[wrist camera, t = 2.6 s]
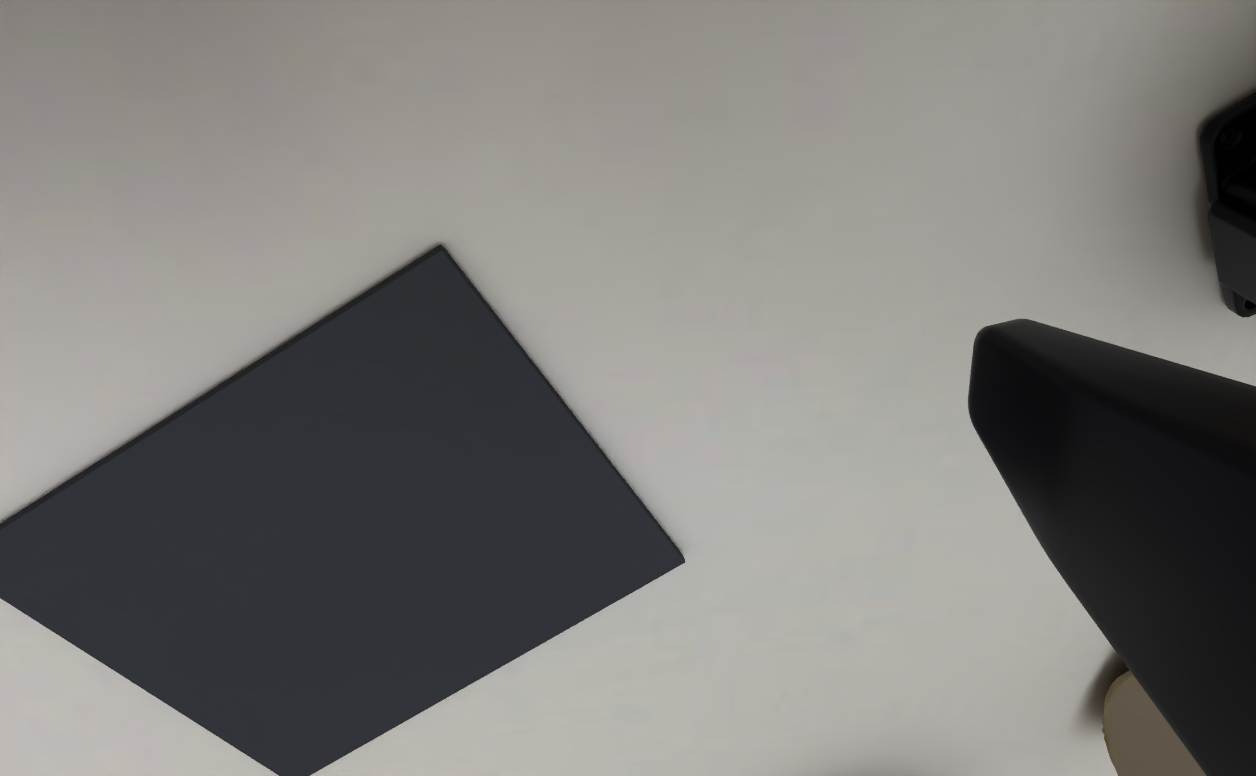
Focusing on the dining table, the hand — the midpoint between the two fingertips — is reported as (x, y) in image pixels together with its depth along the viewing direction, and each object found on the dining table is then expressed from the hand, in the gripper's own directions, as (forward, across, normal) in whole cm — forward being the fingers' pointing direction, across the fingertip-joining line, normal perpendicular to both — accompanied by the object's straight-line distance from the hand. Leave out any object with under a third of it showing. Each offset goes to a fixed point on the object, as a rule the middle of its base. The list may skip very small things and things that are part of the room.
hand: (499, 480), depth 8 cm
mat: (+13, +5, +12) cm, 18 cm away
